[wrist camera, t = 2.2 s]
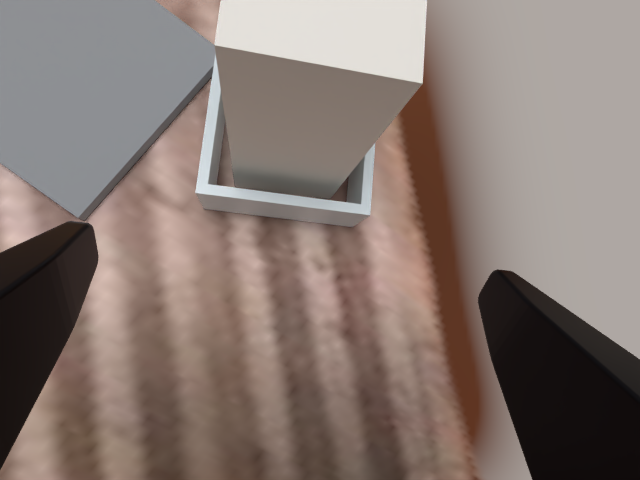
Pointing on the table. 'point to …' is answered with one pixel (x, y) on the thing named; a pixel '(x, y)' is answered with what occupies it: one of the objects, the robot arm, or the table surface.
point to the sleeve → (268, 201)
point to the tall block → (313, 85)
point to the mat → (91, 90)
